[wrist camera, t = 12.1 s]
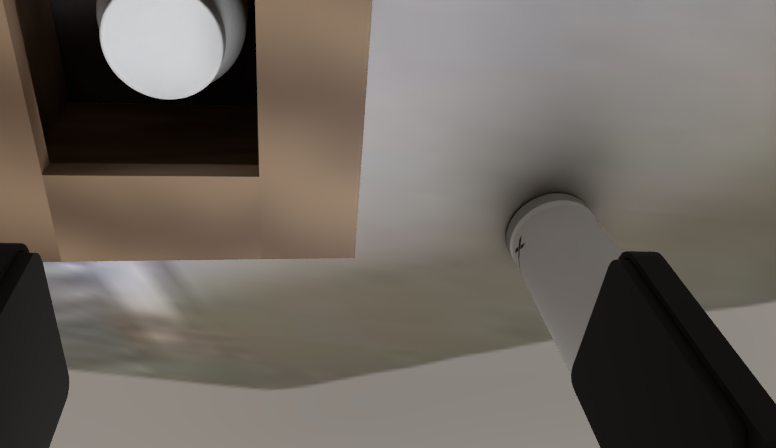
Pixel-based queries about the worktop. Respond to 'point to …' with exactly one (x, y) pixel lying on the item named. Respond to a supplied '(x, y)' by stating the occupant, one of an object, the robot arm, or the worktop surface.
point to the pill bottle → (171, 42)
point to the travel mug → (561, 264)
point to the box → (189, 149)
